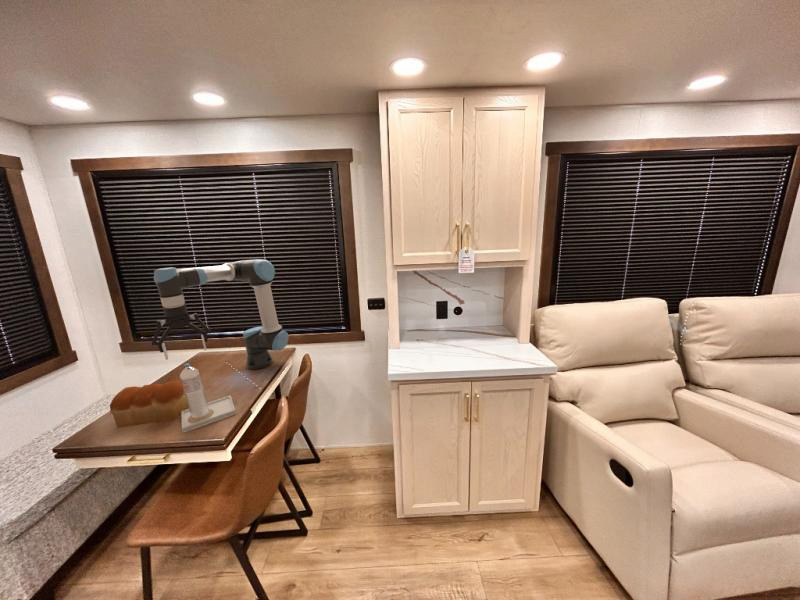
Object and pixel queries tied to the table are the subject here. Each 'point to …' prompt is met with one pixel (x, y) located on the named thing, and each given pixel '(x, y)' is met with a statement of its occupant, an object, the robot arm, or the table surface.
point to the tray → (216, 412)
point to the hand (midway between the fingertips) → (186, 353)
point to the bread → (148, 403)
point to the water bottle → (194, 392)
